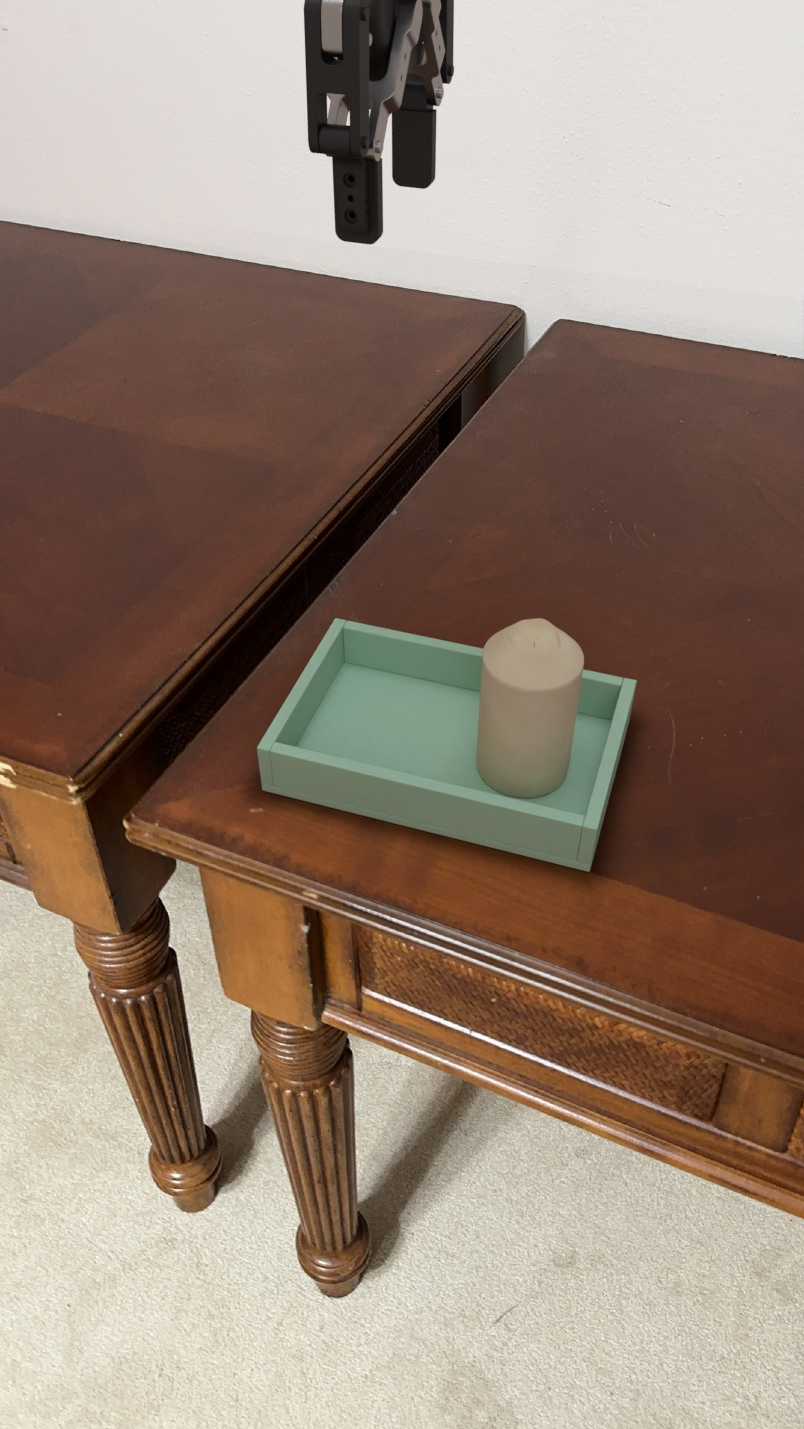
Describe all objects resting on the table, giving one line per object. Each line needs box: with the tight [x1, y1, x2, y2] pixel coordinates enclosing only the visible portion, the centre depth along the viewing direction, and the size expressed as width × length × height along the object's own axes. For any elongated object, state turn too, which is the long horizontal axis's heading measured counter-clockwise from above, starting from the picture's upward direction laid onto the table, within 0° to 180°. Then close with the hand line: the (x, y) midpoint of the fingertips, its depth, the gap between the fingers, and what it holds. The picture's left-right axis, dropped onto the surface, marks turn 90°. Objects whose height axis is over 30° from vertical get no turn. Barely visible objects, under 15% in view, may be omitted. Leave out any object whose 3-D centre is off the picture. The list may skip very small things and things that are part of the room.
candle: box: [476, 617, 585, 798], centre depth 62 cm, size 6×6×10 cm
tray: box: [256, 617, 638, 873], centre depth 66 cm, size 20×13×4 cm, turn 72°
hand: (388, 211), depth 56 cm, fingers open, 8 cm apart
